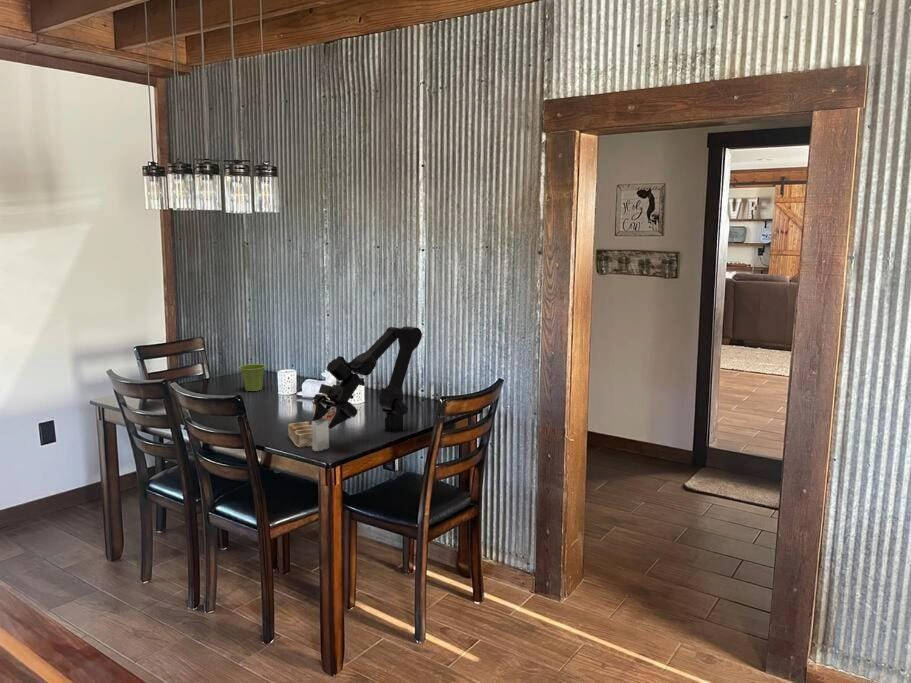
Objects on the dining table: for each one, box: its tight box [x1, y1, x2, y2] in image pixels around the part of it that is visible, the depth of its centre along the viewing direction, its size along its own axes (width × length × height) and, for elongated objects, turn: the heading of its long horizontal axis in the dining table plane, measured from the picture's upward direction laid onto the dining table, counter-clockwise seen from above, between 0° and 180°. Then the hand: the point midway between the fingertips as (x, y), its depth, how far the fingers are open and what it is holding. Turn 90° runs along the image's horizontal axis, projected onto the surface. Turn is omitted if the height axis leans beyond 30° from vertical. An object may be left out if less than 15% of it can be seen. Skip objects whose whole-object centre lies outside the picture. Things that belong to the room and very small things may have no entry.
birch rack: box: [287, 421, 313, 448], centre depth 256 cm, size 7×15×5 cm, turn 24°
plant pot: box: [238, 363, 267, 392], centre depth 332 cm, size 12×12×11 cm
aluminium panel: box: [311, 419, 330, 452], centre depth 245 cm, size 5×2×10 cm, turn 136°
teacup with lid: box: [311, 393, 336, 426], centre depth 279 cm, size 12×9×12 cm
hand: (321, 425), depth 245 cm, fingers open, 9 cm apart
